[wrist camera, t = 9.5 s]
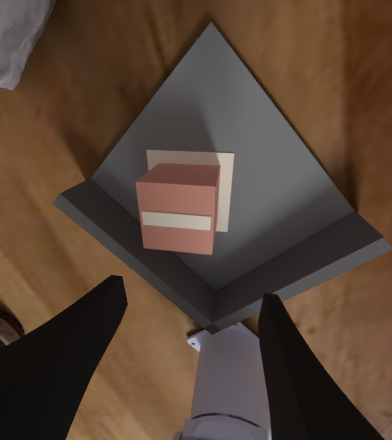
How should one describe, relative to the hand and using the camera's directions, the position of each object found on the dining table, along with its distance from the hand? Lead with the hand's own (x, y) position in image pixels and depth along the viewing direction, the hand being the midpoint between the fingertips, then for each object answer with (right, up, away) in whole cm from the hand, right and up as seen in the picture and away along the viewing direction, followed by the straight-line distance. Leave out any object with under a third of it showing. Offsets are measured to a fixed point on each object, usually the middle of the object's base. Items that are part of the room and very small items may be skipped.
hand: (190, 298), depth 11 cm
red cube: (0, +6, +8) cm, 10 cm away
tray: (+2, +6, +8) cm, 10 cm away
